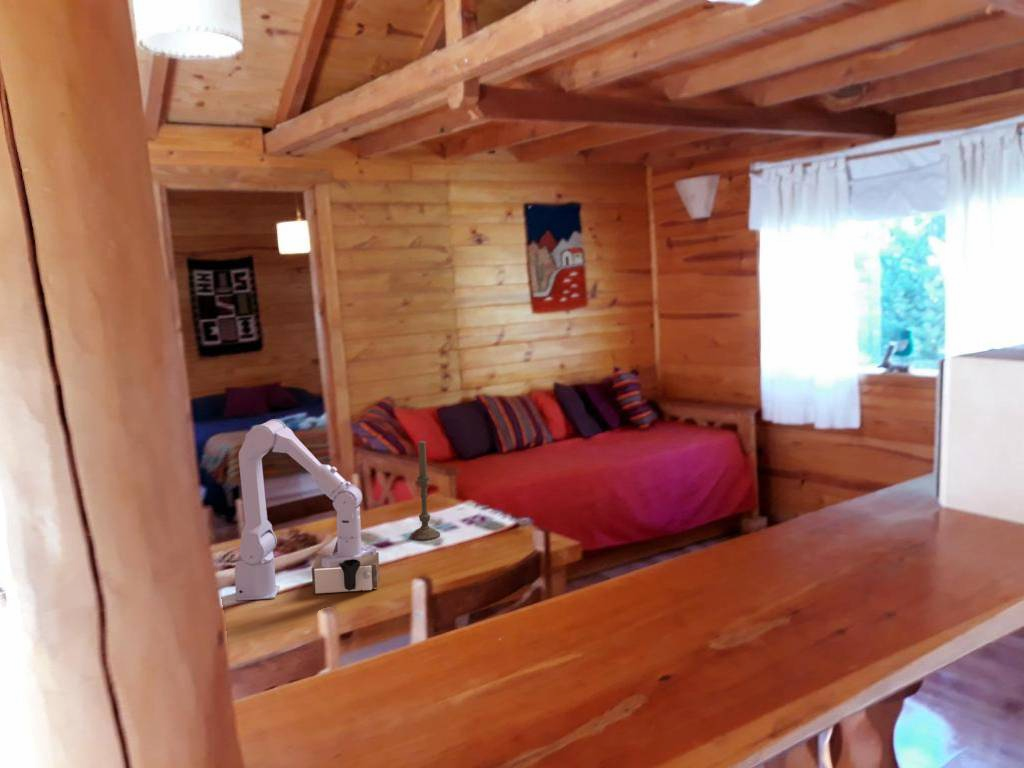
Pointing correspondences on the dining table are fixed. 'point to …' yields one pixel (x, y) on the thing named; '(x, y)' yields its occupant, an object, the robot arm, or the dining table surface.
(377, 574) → the cabinet
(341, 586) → the door
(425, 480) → the candlestick holder
